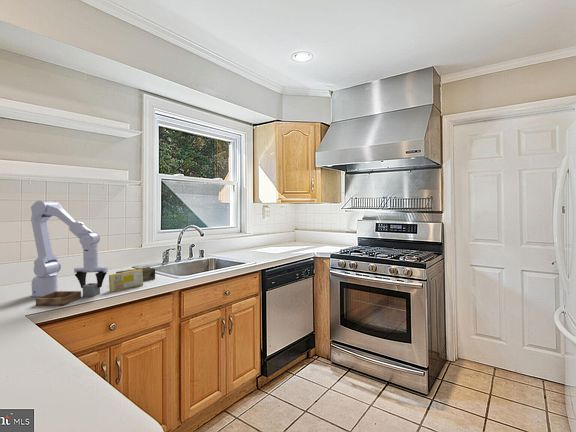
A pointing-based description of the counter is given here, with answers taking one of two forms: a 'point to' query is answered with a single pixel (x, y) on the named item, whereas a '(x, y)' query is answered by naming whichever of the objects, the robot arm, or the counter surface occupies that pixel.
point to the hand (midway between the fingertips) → (91, 287)
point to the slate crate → (90, 290)
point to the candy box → (125, 280)
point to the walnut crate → (58, 298)
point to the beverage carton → (144, 273)
